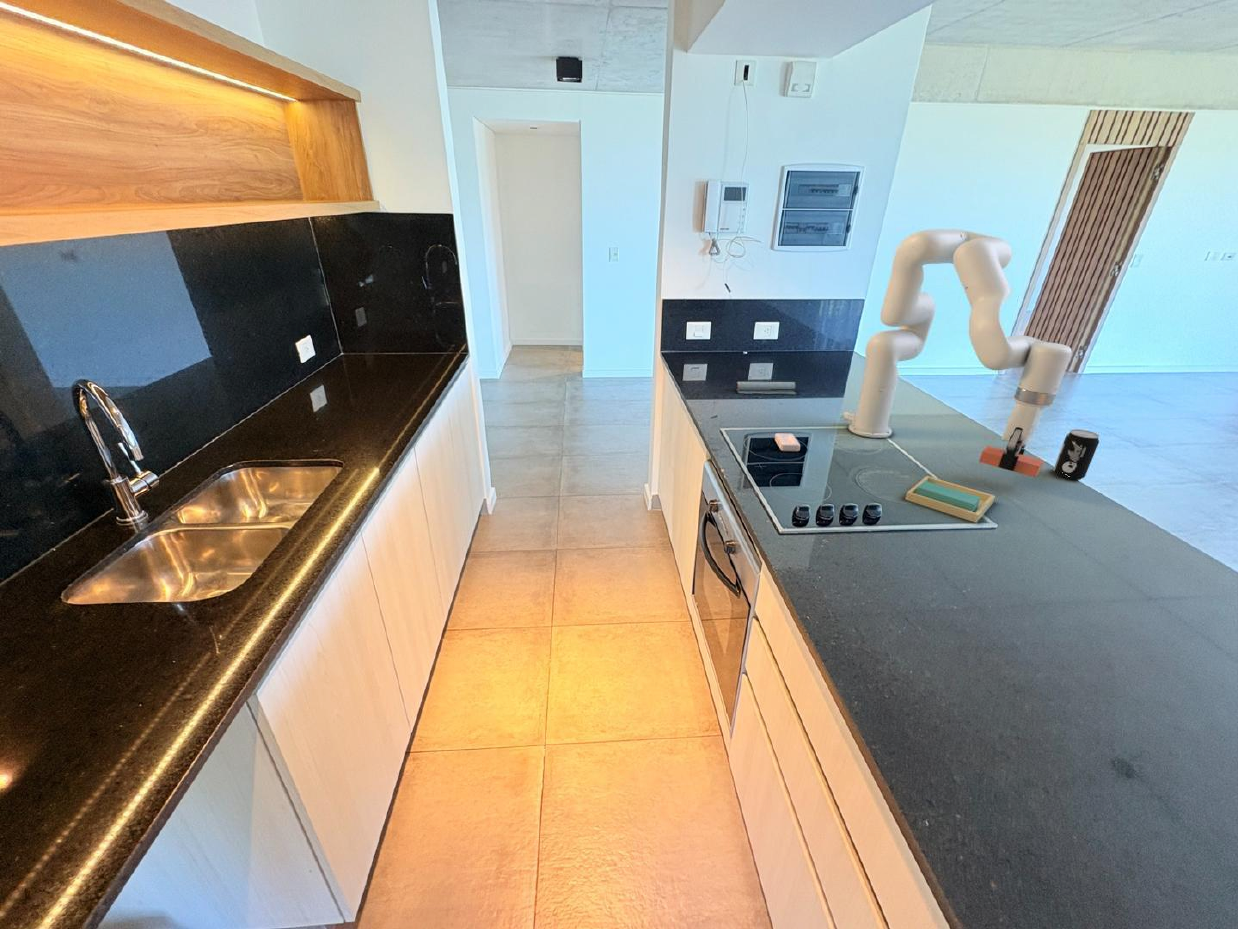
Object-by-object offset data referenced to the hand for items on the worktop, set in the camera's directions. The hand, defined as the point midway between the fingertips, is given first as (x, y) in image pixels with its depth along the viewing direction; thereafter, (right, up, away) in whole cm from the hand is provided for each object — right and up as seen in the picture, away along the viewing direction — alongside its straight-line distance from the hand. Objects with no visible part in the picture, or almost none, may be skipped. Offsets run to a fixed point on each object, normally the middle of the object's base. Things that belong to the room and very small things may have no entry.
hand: (1009, 464), depth 132 cm
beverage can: (+20, -3, +6) cm, 21 cm away
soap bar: (-48, +5, +26) cm, 55 cm away
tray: (-19, -9, -6) cm, 22 cm away
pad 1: (-21, -9, -8) cm, 24 cm away
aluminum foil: (-40, +30, +75) cm, 90 cm away
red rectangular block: (0, 0, 0) cm, 0 cm away
